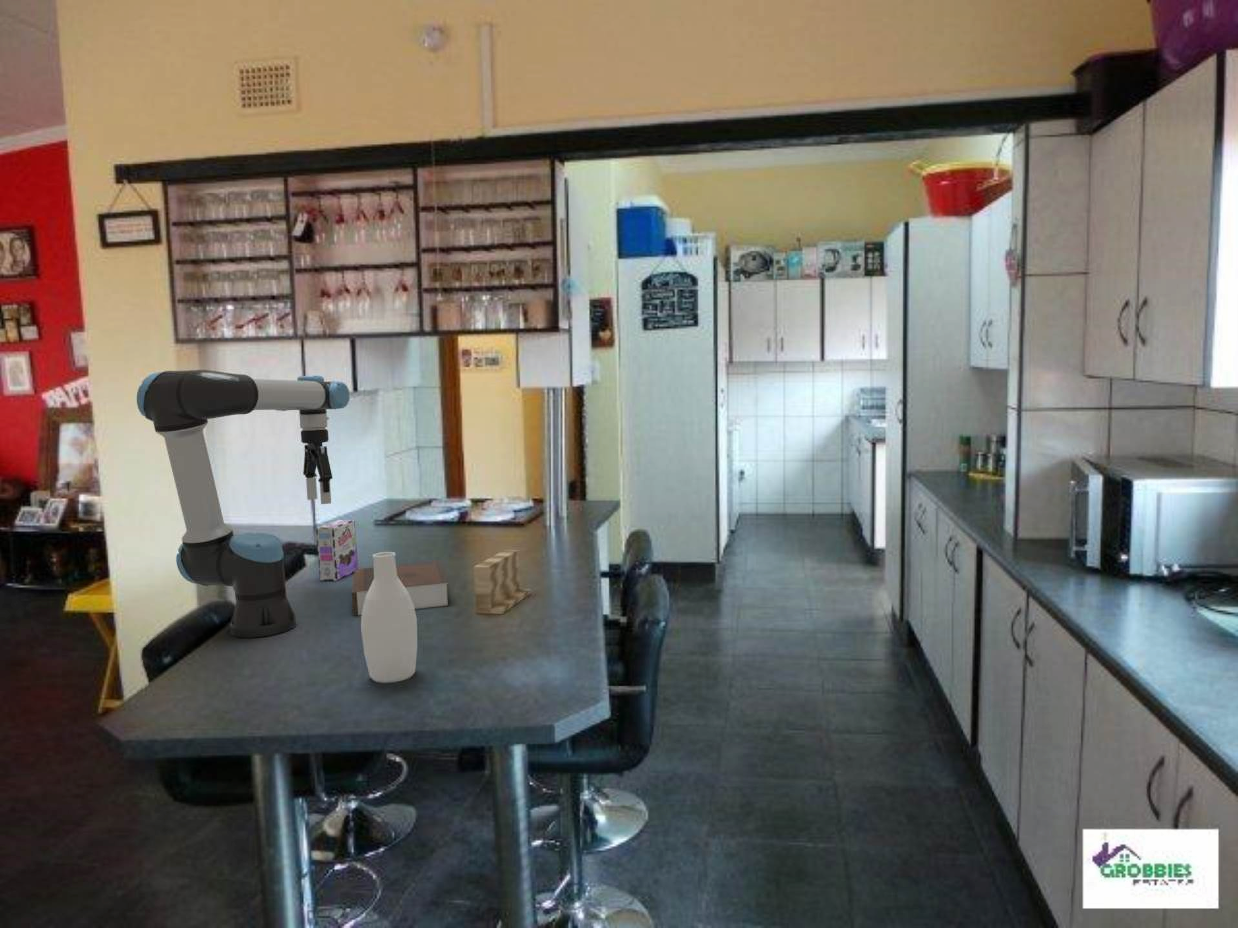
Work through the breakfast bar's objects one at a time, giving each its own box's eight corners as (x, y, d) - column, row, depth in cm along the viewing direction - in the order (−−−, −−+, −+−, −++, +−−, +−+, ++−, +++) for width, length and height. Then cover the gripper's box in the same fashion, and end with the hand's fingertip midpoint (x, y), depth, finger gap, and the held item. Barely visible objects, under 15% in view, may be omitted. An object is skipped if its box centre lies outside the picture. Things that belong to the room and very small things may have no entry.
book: (354, 617, 230) (352, 592, 229) (356, 591, 256) (354, 569, 256) (450, 607, 236) (448, 582, 235) (442, 582, 263) (441, 561, 262)
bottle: (425, 664, 189) (417, 547, 186) (414, 683, 178) (406, 558, 175) (372, 667, 189) (363, 549, 186) (358, 686, 178) (348, 561, 175)
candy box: (337, 581, 268) (332, 527, 266) (319, 581, 269) (314, 527, 267) (359, 570, 281) (355, 519, 279) (342, 570, 282) (338, 519, 280)
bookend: (501, 614, 225) (499, 567, 224) (475, 613, 227) (472, 566, 226) (530, 593, 244) (528, 550, 243) (506, 592, 246) (503, 549, 245)
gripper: (340, 429, 251) (345, 504, 253) (314, 427, 271) (319, 496, 274) (313, 431, 247) (318, 507, 249) (289, 428, 267) (294, 498, 269)
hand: (319, 501), depth 261 cm, fingers open, 13 cm apart
